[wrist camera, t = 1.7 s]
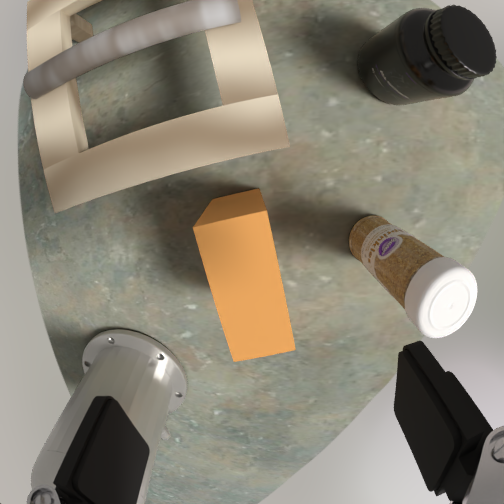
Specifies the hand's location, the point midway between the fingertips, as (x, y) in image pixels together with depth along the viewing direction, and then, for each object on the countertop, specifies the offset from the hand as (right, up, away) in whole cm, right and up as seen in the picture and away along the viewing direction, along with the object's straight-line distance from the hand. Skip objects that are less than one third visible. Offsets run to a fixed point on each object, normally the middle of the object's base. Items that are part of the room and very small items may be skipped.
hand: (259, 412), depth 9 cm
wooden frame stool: (-7, +20, +14) cm, 25 cm away
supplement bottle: (+12, +21, +14) cm, 28 cm away
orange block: (-1, +6, +18) cm, 19 cm away
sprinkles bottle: (+11, +6, +19) cm, 22 cm away
